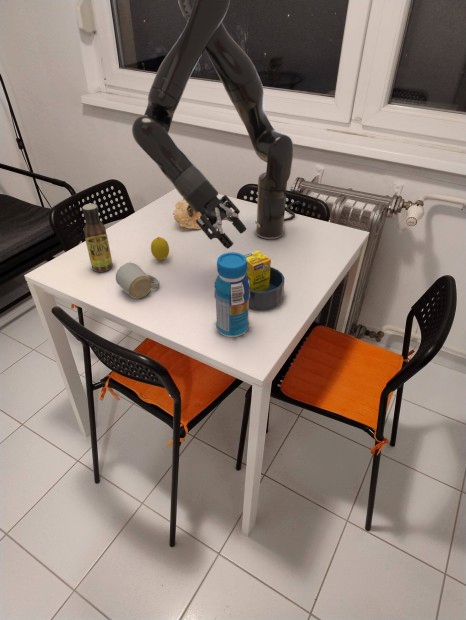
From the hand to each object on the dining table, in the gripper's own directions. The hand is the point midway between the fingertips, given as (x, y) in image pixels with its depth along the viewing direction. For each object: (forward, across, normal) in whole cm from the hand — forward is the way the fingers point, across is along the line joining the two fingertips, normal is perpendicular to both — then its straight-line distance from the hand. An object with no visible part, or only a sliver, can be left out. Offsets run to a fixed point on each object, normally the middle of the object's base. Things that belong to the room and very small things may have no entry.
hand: (237, 238), depth 102 cm
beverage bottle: (+15, -15, +8) cm, 23 cm away
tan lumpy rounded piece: (-10, +33, +34) cm, 48 cm away
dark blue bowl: (+16, 0, +7) cm, 18 cm away
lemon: (-8, +5, +32) cm, 33 cm away
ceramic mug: (-6, -11, +30) cm, 32 cm away
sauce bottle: (-18, -6, +42) cm, 46 cm away
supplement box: (+15, 0, +8) cm, 17 cm away
